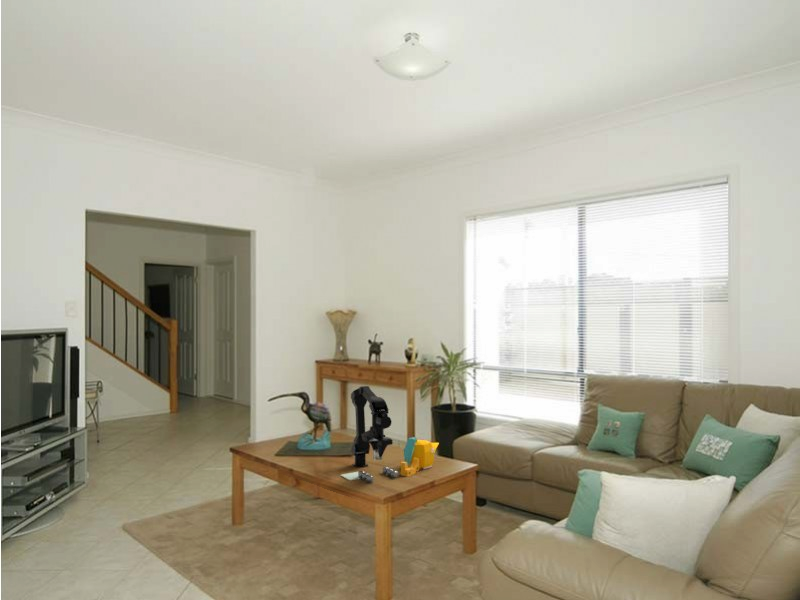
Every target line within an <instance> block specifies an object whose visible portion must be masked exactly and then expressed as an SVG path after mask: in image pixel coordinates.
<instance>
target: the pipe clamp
mask: <svg viewBox="0 0 800 600" xmlns="http://www.w3.org/2000/svg"><path fill="white" fill-rule="evenodd" d="M416 471H417V472H419V471H420V469H419V458H416V457H415V458H413V462H412V464H411V466H409V467H408V465H407V462H405V461H401V462H400V476H403V477H410V476H412V475H415V474H416Z"/></svg>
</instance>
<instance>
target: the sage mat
mask: <svg viewBox="0 0 800 600" xmlns="http://www.w3.org/2000/svg"><path fill="white" fill-rule="evenodd" d="M358 472H359V471H355V472H348V473H343V474H340V477H342V478H344V479H346V480H348V481H349V482H350V481H356V480H361V479H360V478H359V477H358Z"/></svg>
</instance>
